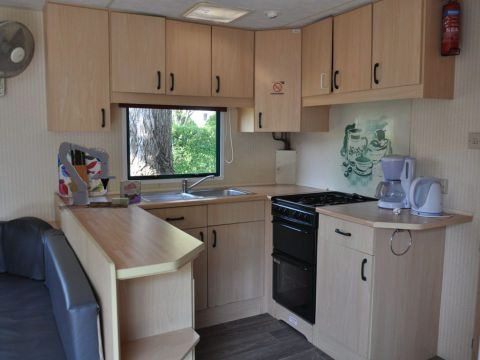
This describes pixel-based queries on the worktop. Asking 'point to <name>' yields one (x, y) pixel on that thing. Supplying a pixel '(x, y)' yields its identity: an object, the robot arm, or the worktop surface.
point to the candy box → (130, 190)
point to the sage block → (123, 200)
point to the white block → (115, 200)
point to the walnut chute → (106, 204)
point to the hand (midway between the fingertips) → (105, 189)
